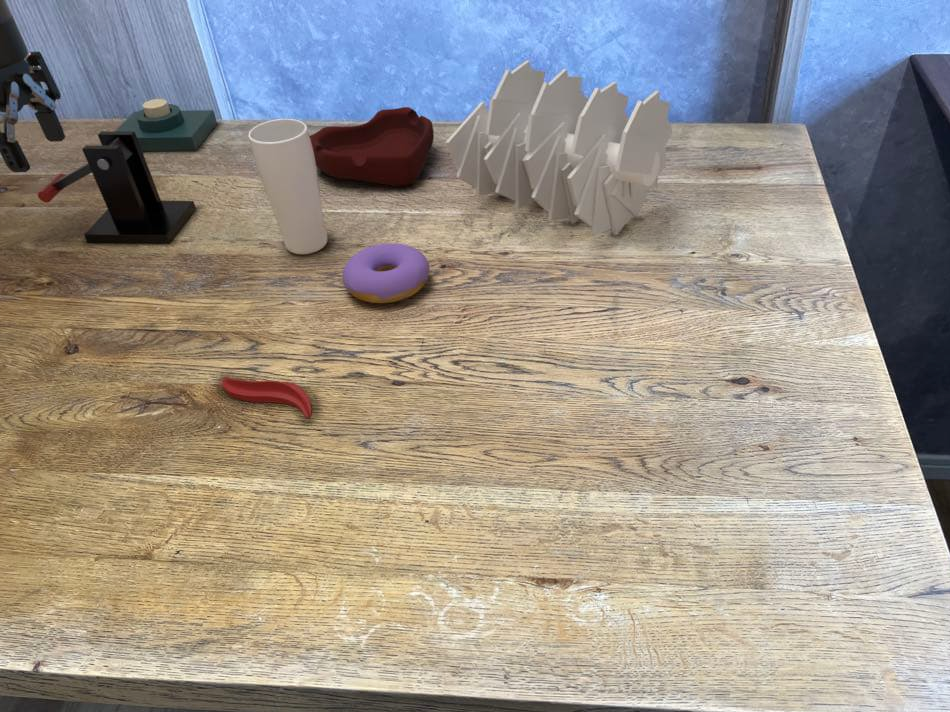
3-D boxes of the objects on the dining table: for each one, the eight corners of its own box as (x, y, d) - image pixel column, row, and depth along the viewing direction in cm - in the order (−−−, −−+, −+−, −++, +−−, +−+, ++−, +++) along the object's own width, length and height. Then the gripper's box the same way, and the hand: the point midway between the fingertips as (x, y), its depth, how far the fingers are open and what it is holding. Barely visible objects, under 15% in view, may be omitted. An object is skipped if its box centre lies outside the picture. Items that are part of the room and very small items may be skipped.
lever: (47, 207, 104) (32, 191, 103) (66, 188, 108) (52, 173, 107) (120, 166, 100) (105, 149, 98) (138, 148, 103) (124, 132, 102)
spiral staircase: (512, 202, 117) (667, 242, 106) (432, 199, 103) (601, 245, 91) (535, 67, 111) (701, 93, 100) (452, 44, 97) (636, 72, 85)
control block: (113, 151, 125) (102, 126, 122) (139, 124, 132) (130, 100, 130) (196, 150, 124) (187, 125, 122) (217, 123, 132) (209, 98, 129)
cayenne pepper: (326, 405, 80) (322, 391, 79) (289, 432, 77) (284, 417, 76) (249, 361, 86) (244, 346, 84) (213, 384, 83) (207, 370, 82)
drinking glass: (336, 254, 101) (309, 138, 91) (280, 263, 100) (247, 147, 90) (332, 227, 106) (306, 114, 96) (279, 236, 105) (246, 122, 95)
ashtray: (355, 210, 109) (348, 175, 106) (304, 167, 119) (295, 134, 116) (467, 170, 117) (464, 136, 113) (410, 133, 126) (405, 101, 123)
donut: (420, 252, 100) (417, 222, 96) (439, 306, 95) (437, 276, 91) (339, 269, 98) (332, 238, 94) (353, 324, 92) (347, 294, 89)
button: (142, 119, 125) (138, 108, 124) (151, 110, 127) (147, 99, 126) (165, 119, 125) (161, 107, 123) (174, 109, 127) (170, 98, 126)
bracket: (87, 242, 105) (47, 156, 97) (118, 208, 112) (83, 124, 104) (169, 243, 104) (135, 156, 96) (196, 208, 111) (166, 124, 103)
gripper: (-21, -1, 97) (41, 131, 108) (-99, 40, 86) (-22, 182, 97) (39, -2, 96) (95, 130, 107) (-32, 39, 86) (38, 181, 97)
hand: (39, 155), depth 102 cm, fingers open, 8 cm apart
